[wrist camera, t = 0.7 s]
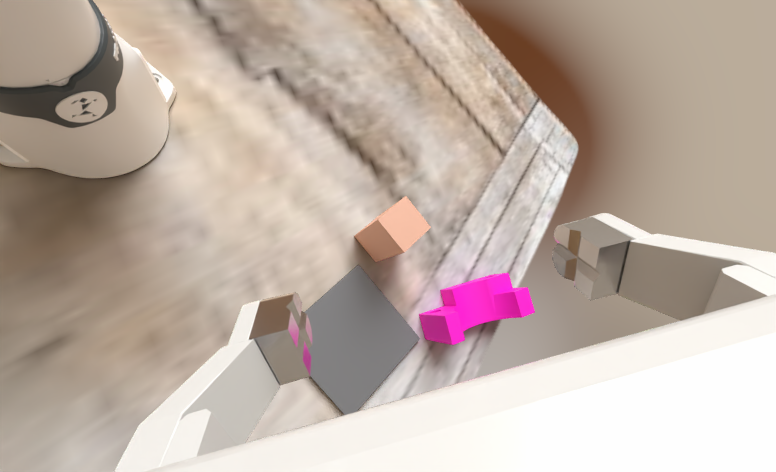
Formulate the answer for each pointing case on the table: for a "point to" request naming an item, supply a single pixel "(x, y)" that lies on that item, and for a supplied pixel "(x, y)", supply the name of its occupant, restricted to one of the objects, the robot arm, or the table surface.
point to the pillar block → (393, 231)
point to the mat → (355, 340)
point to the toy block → (475, 307)
